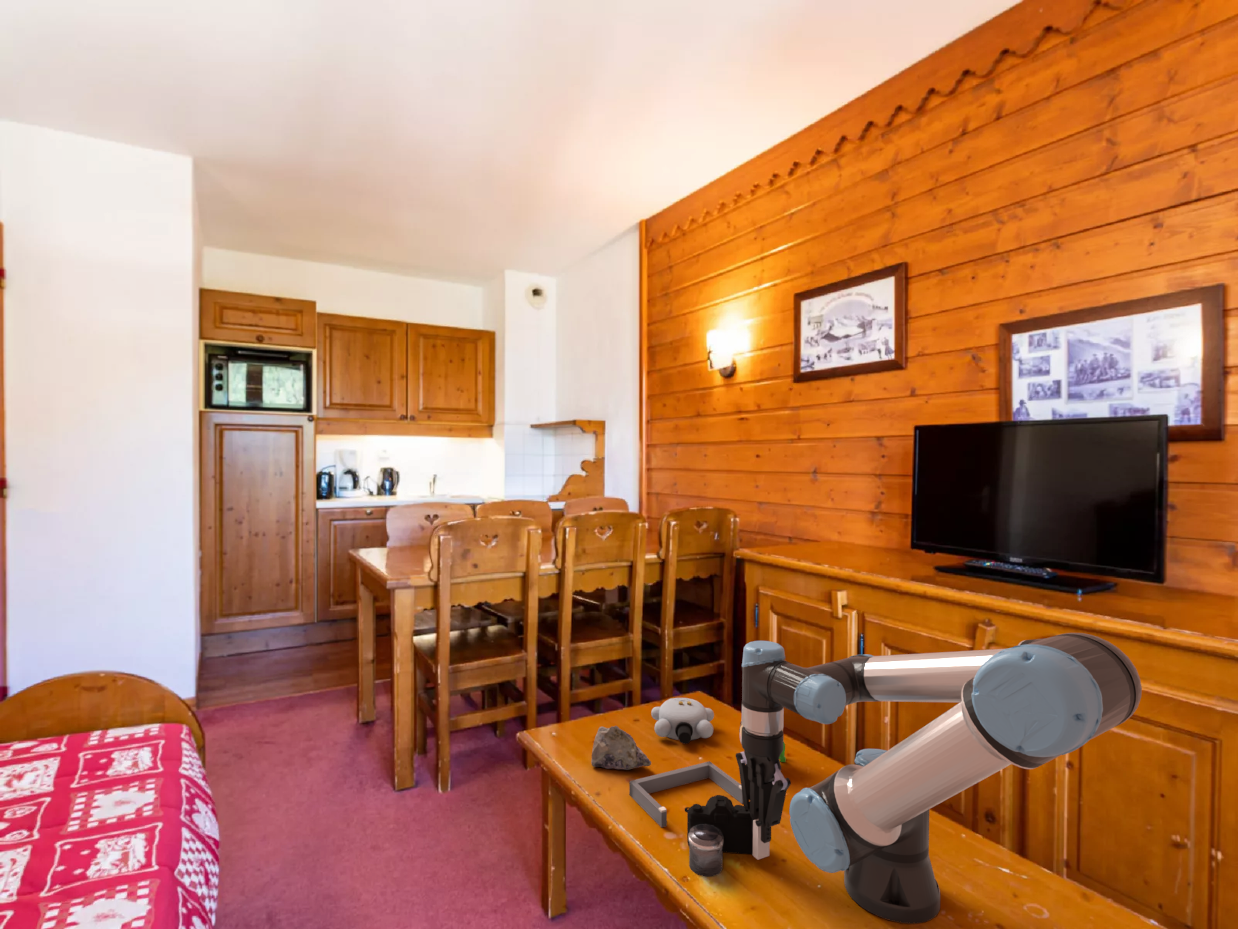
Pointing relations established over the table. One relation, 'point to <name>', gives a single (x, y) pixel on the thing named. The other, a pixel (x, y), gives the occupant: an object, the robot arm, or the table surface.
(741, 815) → the film camera
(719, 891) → the table surface
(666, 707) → the figurine
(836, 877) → the table surface
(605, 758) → the mineral rock
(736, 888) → the table surface
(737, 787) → the bracket
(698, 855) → the lens
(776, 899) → the table surface
